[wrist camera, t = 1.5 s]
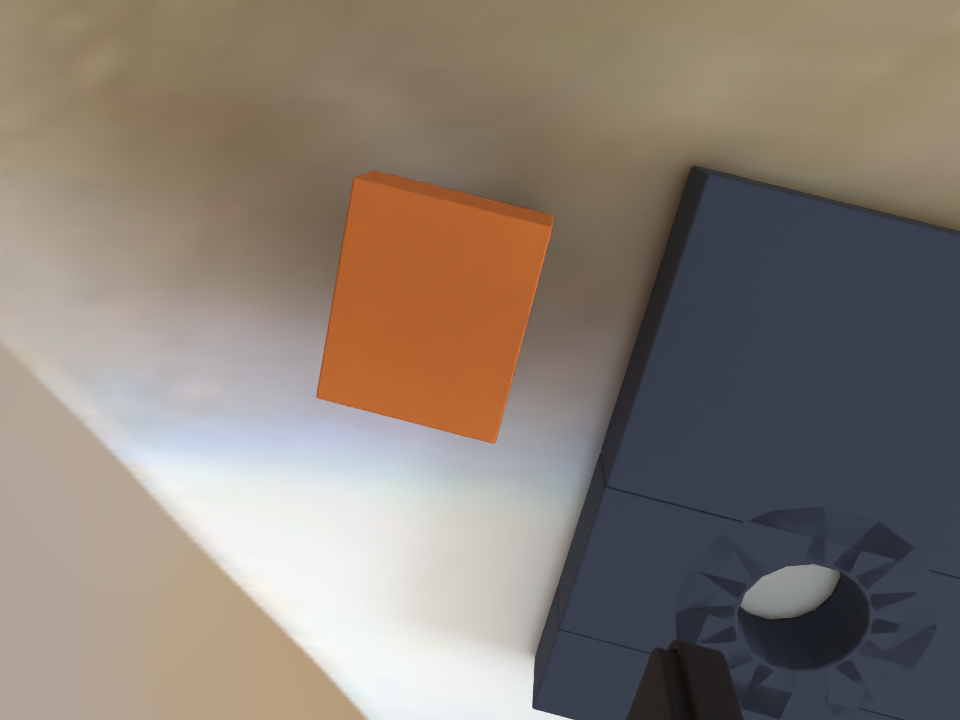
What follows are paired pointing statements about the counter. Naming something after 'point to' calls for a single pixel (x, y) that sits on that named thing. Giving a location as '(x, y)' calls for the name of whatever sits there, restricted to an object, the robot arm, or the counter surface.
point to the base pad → (777, 467)
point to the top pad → (431, 304)
